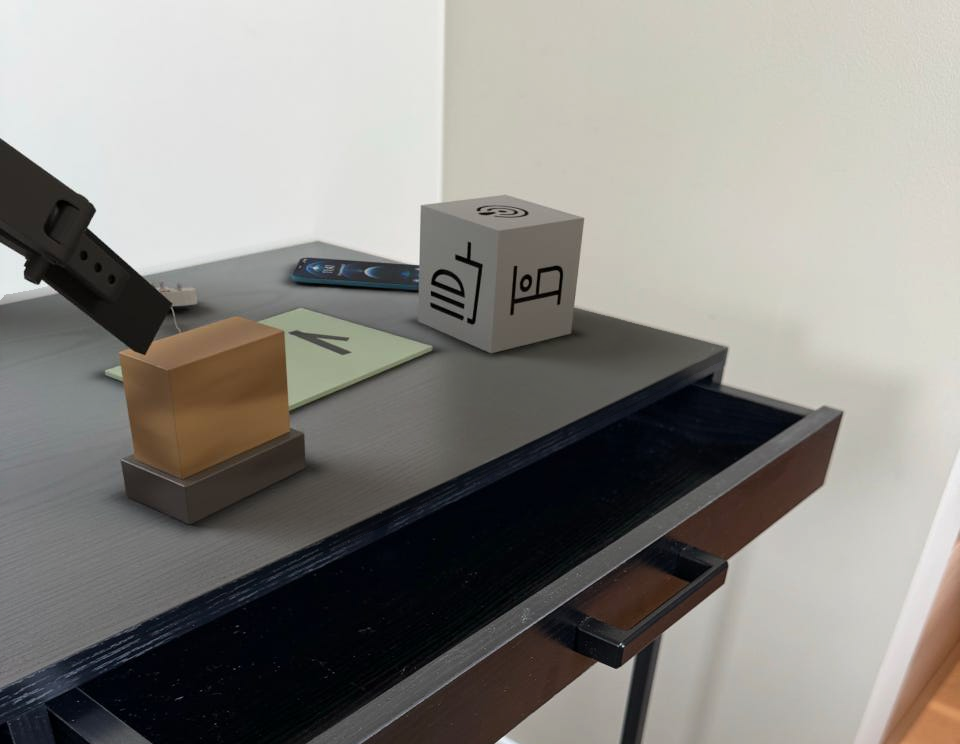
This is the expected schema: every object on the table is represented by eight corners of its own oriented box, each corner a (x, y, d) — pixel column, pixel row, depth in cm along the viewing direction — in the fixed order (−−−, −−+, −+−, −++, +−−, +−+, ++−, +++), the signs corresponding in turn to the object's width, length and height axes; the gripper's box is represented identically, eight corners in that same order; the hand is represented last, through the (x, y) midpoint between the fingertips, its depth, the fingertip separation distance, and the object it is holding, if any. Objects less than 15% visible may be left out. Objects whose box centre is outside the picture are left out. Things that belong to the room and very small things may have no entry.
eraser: (126, 496, 59) (101, 350, 54) (245, 444, 66) (233, 311, 61) (189, 525, 56) (170, 375, 51) (306, 468, 63) (299, 331, 58)
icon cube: (490, 353, 83) (499, 230, 78) (418, 321, 89) (420, 205, 84) (571, 333, 89) (584, 217, 83) (497, 304, 95) (505, 194, 89)
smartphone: (441, 287, 96) (289, 276, 96) (441, 293, 97) (290, 282, 96) (443, 266, 103) (301, 256, 102) (443, 272, 103) (301, 262, 102)
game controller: (183, 297, 91) (179, 268, 89) (243, 333, 84) (241, 303, 83) (124, 305, 88) (120, 275, 86) (181, 343, 81) (178, 312, 79)
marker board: (105, 375, 74) (104, 369, 74) (301, 311, 90) (301, 307, 89) (247, 428, 68) (247, 422, 68) (432, 350, 83) (432, 345, 83)
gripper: (-696, -46, 33) (-125, 306, 52) (-358, 23, 22) (203, 433, 41) (-579, -227, 34) (-58, 187, 53) (-197, -244, 23) (282, 282, 42)
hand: (58, 296), depth 47 cm, fingers open, 13 cm apart
